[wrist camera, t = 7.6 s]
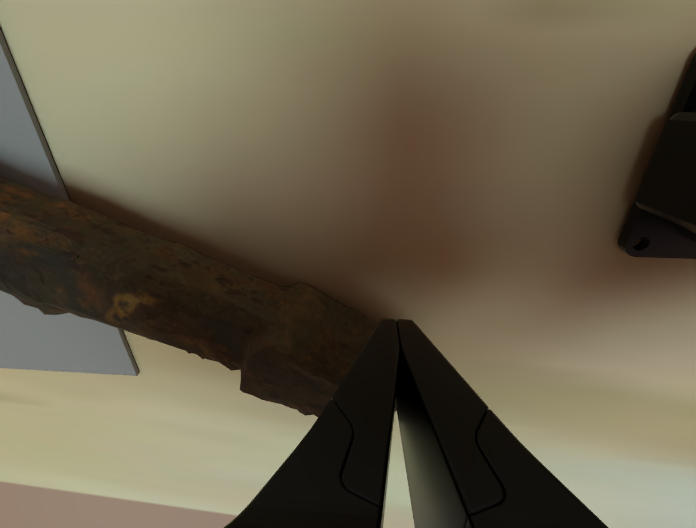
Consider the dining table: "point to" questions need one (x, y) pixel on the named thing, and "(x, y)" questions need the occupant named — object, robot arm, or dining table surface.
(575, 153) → the dining table surface
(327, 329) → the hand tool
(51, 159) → the mat
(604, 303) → the dining table surface
